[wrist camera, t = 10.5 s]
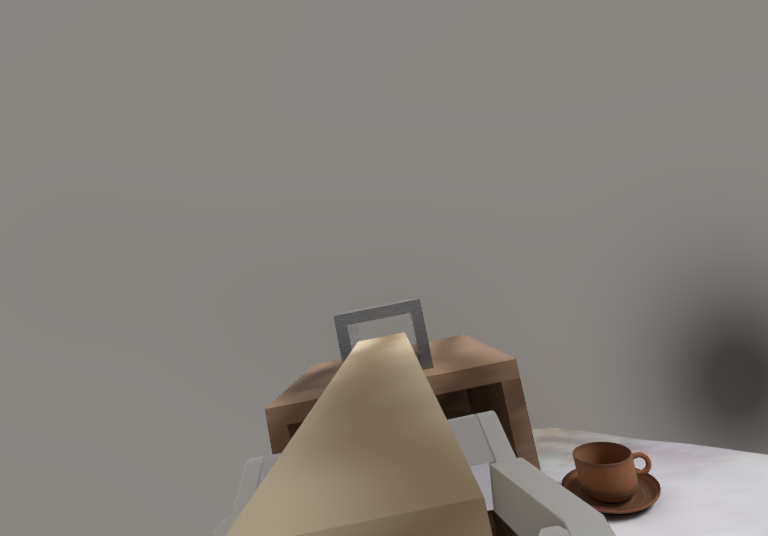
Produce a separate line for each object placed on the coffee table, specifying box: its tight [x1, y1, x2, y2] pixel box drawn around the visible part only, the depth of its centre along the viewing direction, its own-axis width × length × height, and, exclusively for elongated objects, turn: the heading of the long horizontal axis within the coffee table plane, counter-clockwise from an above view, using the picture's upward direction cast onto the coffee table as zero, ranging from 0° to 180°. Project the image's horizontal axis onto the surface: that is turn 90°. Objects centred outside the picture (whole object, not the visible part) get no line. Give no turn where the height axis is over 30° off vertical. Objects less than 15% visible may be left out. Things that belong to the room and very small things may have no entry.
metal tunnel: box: [334, 299, 434, 370], centre depth 40 cm, size 8×10×6 cm
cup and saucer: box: [562, 442, 661, 514], centre depth 55 cm, size 12×12×6 cm
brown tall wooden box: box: [265, 334, 541, 536], centre depth 41 cm, size 20×21×26 cm
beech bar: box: [225, 333, 492, 536], centre depth 20 cm, size 4×28×3 cm, turn 179°
